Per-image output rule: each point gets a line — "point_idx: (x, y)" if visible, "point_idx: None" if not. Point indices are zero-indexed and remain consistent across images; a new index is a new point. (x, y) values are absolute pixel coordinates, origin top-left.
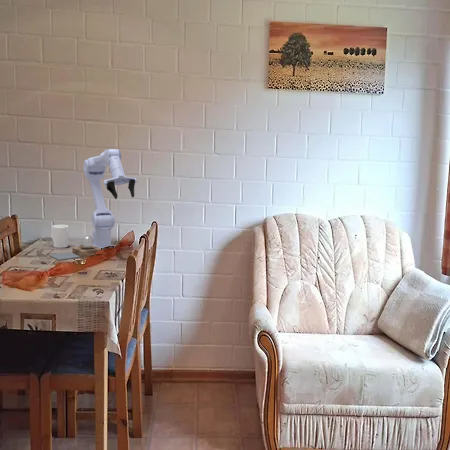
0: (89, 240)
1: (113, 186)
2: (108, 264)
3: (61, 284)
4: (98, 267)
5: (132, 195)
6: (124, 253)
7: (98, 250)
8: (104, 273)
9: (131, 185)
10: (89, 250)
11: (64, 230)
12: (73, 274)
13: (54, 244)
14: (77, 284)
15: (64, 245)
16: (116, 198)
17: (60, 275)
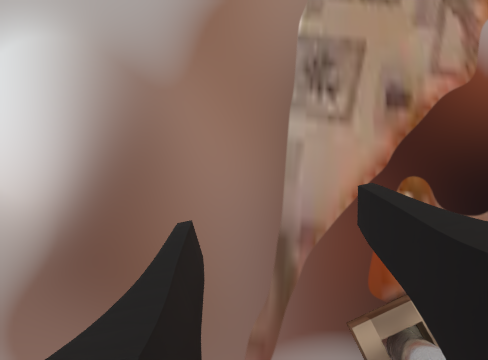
0: (421, 347)
1: (471, 229)
2: (326, 180)
3: (441, 10)
4: (356, 149)
5: (196, 240)
6: (265, 327)
7: (366, 320)
8: (338, 89)
9: (165, 291)
10: (402, 309)
11: None
12: (422, 87)
13: None
14: (402, 8)
15: None
16: (360, 216)
17: (457, 81)
